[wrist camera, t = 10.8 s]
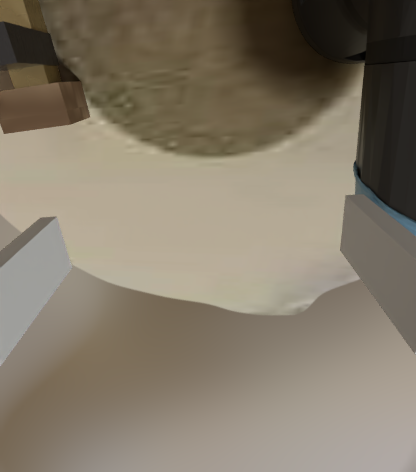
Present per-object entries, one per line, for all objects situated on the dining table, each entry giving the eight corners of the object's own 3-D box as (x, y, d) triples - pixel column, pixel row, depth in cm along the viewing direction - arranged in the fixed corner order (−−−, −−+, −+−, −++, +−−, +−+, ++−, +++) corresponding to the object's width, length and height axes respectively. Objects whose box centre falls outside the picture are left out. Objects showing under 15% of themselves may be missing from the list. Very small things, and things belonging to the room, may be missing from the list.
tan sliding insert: (-35, -103, 31) (-121, -167, 22) (8, -111, 30) (-64, -178, 22) (36, 111, 39) (-8, 121, 30) (70, 106, 38) (34, 114, 30)
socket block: (21, 90, 39) (-12, 92, 33) (80, 81, 38) (58, 82, 32) (33, 125, 40) (4, 133, 34) (90, 117, 40) (70, 124, 34)
